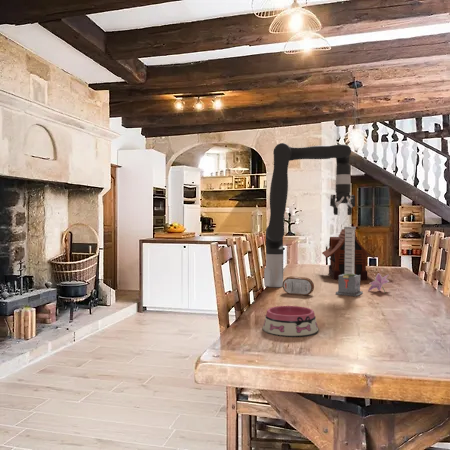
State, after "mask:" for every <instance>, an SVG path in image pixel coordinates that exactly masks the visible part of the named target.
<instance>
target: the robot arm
mask: <svg viewBox="0 0 450 450" xmlns="http://www.w3.org/2000/svg"><path fill="white" fill-rule="evenodd" d="M351 154H352V148H351V147H350V146H349V144H348V145H347V144H343V143H342V144H332V145H312V146H304V147H292V146H290V145H288V144H287V143H284V142H281V143H278V144H276V146H275V147H274V149H273V170H272V171H273V173H272V176H271V181H270V188H269V209H270V211H269V212H270V214H269V215H270V217H269V223H268V226H267V227H266V229H265V253H266V254H265V267H264V269H263V270H264V271H263V272H264V273H263V275H264V281H263V283H264V284H263V285H264V286H265V287H268V288H281V287H282V288H283V281H284V250H285V249H284V236H285V212H286V208H287V201H288V191H289V177H288V169H289V164H290V162H291V161H297V160H330V159H335V160H336V161H335V162H336V168H335V169H336V171H335V175H336V176H335V194H330V200H329V202H330V203H329V206H330V207H332V208H333V211H332V212H333V215H334V216H338V215H339V208H338V207H339V206H340V204H345V205H346V206H347V210H346V211H347V215H348V216H351V215H352V212H353V208H354V207H356V196H355V194H352V195H351V194H350V193H351V188H352V187H351V186H352V185H351V182H352V181H351V180H352V179H351V178H352V177H351V165H350V156H351Z"/></svg>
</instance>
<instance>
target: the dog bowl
mask: <svg viewBox="0 0 450 450" xmlns="http://www.w3.org/2000/svg"><path fill="white" fill-rule="evenodd" d="M318 327H319V326H318V324H317V319H316V315H315V311H314V310H313V309H311V308H308V307H305V306H297V305H280V306H279V305H278V306H273V307H270V308H268V309H267V310H266V314H265V318H264V322H263V326H262V331H263V332H264V333H266V334H268V335H272V336H277V337H280V338H281V337H283V338H306V337H312V336H316V335H317V334H318V333H319V331H320V330H319V328H318Z"/></svg>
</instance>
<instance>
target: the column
mask: <svg viewBox="0 0 450 450" xmlns="http://www.w3.org/2000/svg"><path fill="white" fill-rule="evenodd" d="M343 229H345V274H344V275H347V276H354V275H355V273H354V261H355V236H356V235H355V234H356V229H357V227H356V226H344V227H343Z"/></svg>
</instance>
